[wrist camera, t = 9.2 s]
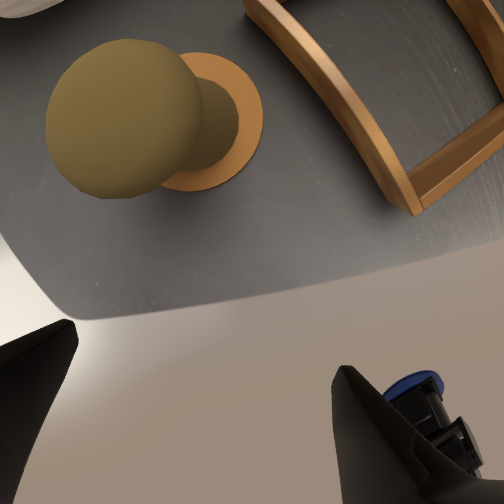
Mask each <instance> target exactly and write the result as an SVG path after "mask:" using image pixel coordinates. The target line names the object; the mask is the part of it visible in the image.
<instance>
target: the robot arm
mask: <svg viewBox="0 0 504 504" xmlns="http://www.w3.org/2000/svg"><path fill="white" fill-rule="evenodd" d="M78 341H79V339H78V335H77V331H76V327H75V324H74V322H73V321H71V320H68V319H61V320H59V321H57V322H54V323H52V324H50V325H47V326H45V327H43V328H40V329H38V330H36V331H33V332H31V333H29V334H27V335H24V336H22V337H20V338H18V339H15V340H13V341H11V342H8V343H6V344H4V345H1V346H0V504H13V501H14V498H15V495H16V492H17V488H18V486H19V483H20V480H21V477H22V474H23V472H24V469H25V468H24V467H25V466H26V463H27V461H28V458H29V455H30V453H31V450H32V448H33V445H34V443H35V441H36V438H37V436H38V434H39V431H40V429H41V427H42V425H43V422H44V420H45V418H46V416H47V414H48V412H49V409H50V407H51V405H52V403H53V401H54V399H55V397H56V395H57V393H58V391H59V389H60V387H61V385H62V383H63V381H64V379H65V376H66V374H67V372H68V369H69V366H70V364H71V361H72V359H73V356H74V354H75V352H76V349H77V347H78ZM331 393H332V421H333V433H334V440H335V447H336V454H337V461H338V468H339V475H340V484H341V492H342V501H343V504H504V480H486V479H482V476H481V474H480V471H479V467H480V466H482V465H483V460H482V457H481V454H480V451H479V448H478V445H477V442H476V440H475V438H474V436H473V434H472V432H471V430H470V428H469V426H468V425H467V424H466V422H465V421H464V420H463V418H462V417H461V416H460V417H458V418H457V419H456V420H455V421H454V422H453V423H451V421H450V419H449V417H448V415H447V413H446V411H445V409H444V407H443V404H442V401H443V398H442V396H441V393H440V391H439V388H438V386H437V383H436V381H435V379H434V377H433V376H430V377H428V378H427V379H425V380H424V381H422V382H420V383H419V384H417V385H416V386H414V387H412V388H411V389H409V390H408V391H406V392H404V393H402V394H401V395H399V396H397V397H396V398H394V399H392V400H390V401H387V400H386V399H385V398H384V397H383V396H382V395H381V394H380V393H379V392H378V391H377V390H376V389H375V388H374V387H373V386H372V385H371V384H370V383H369V382H368V381H367V380H366V379H365V378H364V377H363V376H362V375H361V374H360V373H359V372H358V371H357V370H356V369H355V368H354V367H353V366H350V365H349V366H347V365H341V366H340V367H339V369H338V371H337V373H336V375H335V377H334V380H333V382H332V386H331ZM461 437H464V438H463V439H460V438H461Z"/></svg>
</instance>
